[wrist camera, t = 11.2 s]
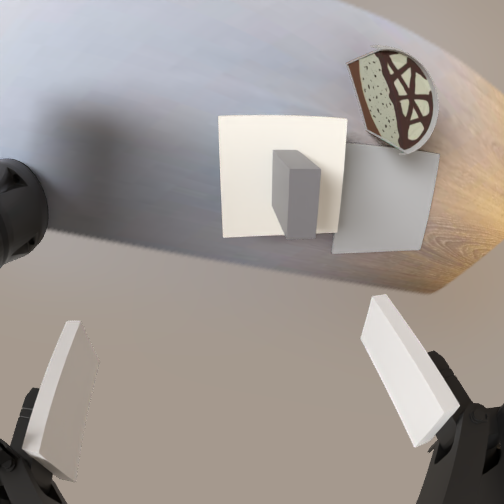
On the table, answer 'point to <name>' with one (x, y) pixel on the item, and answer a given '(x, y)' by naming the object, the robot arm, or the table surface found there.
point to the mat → (384, 199)
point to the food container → (395, 97)
